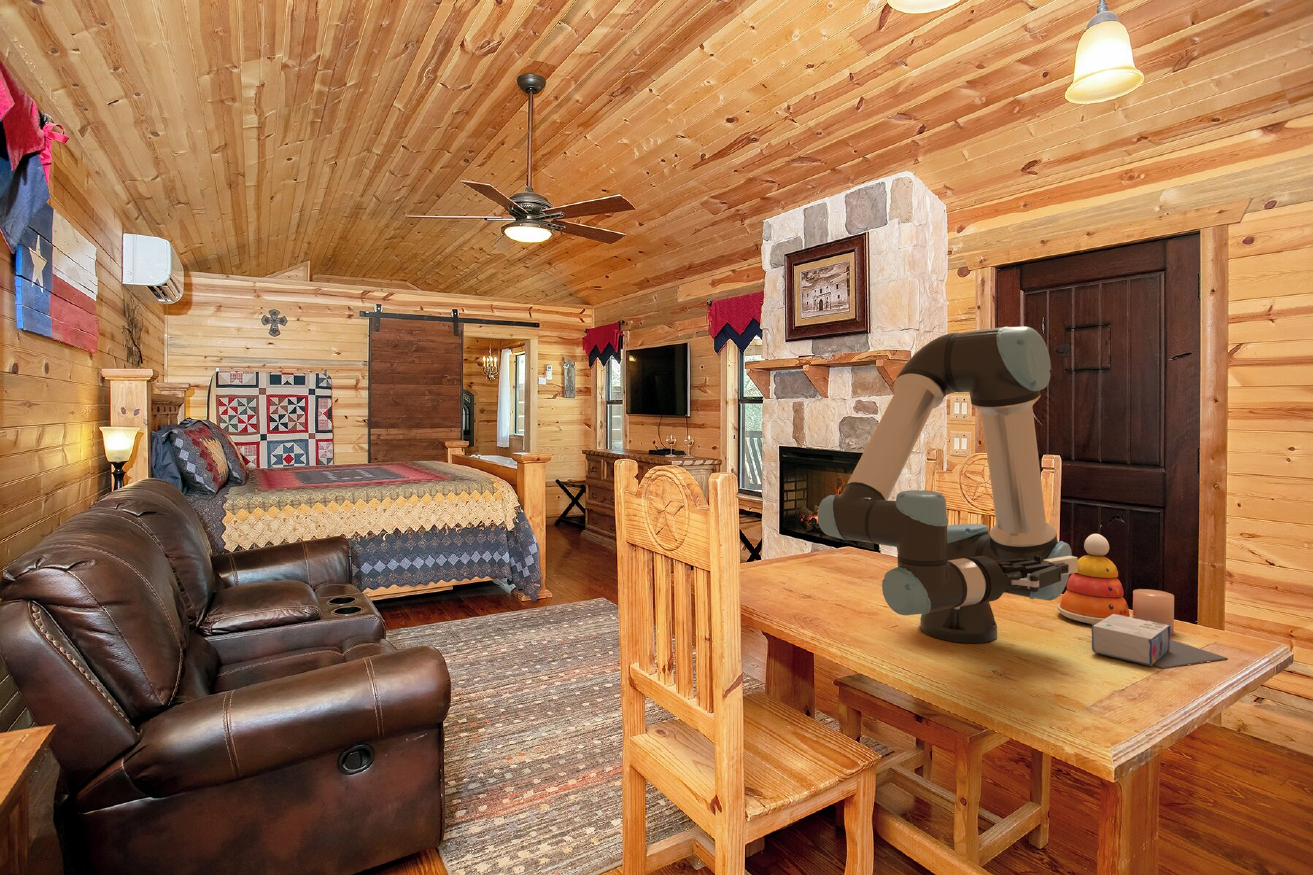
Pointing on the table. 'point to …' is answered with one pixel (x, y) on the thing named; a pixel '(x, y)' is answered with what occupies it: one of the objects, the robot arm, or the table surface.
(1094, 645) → the ink cartridge box
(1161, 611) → the pink pillar candle
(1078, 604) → the stacking toy
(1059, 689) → the table surface
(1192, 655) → the mat
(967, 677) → the table surface
